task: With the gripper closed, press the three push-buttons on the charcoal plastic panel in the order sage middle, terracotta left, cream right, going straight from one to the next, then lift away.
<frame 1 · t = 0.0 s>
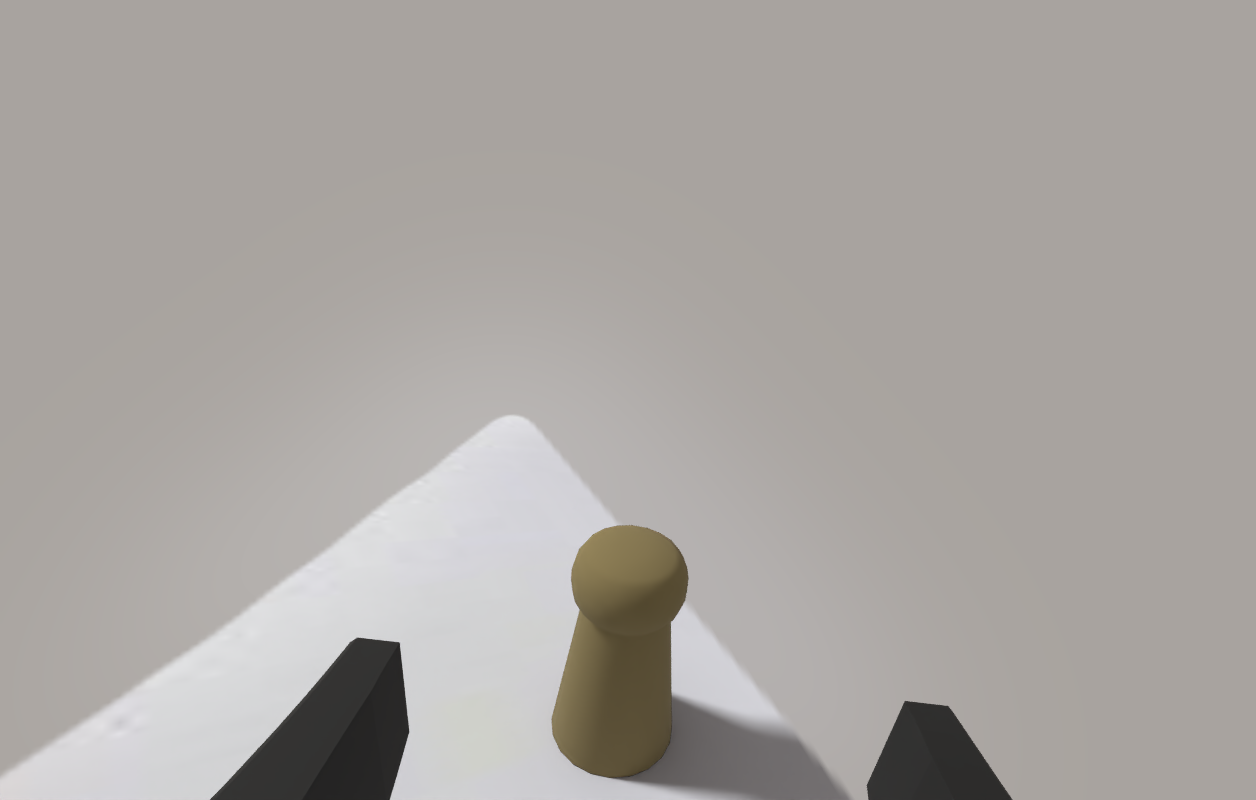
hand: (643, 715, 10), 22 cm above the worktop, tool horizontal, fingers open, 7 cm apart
olive pawn: (611, 725, 36), on the worktop
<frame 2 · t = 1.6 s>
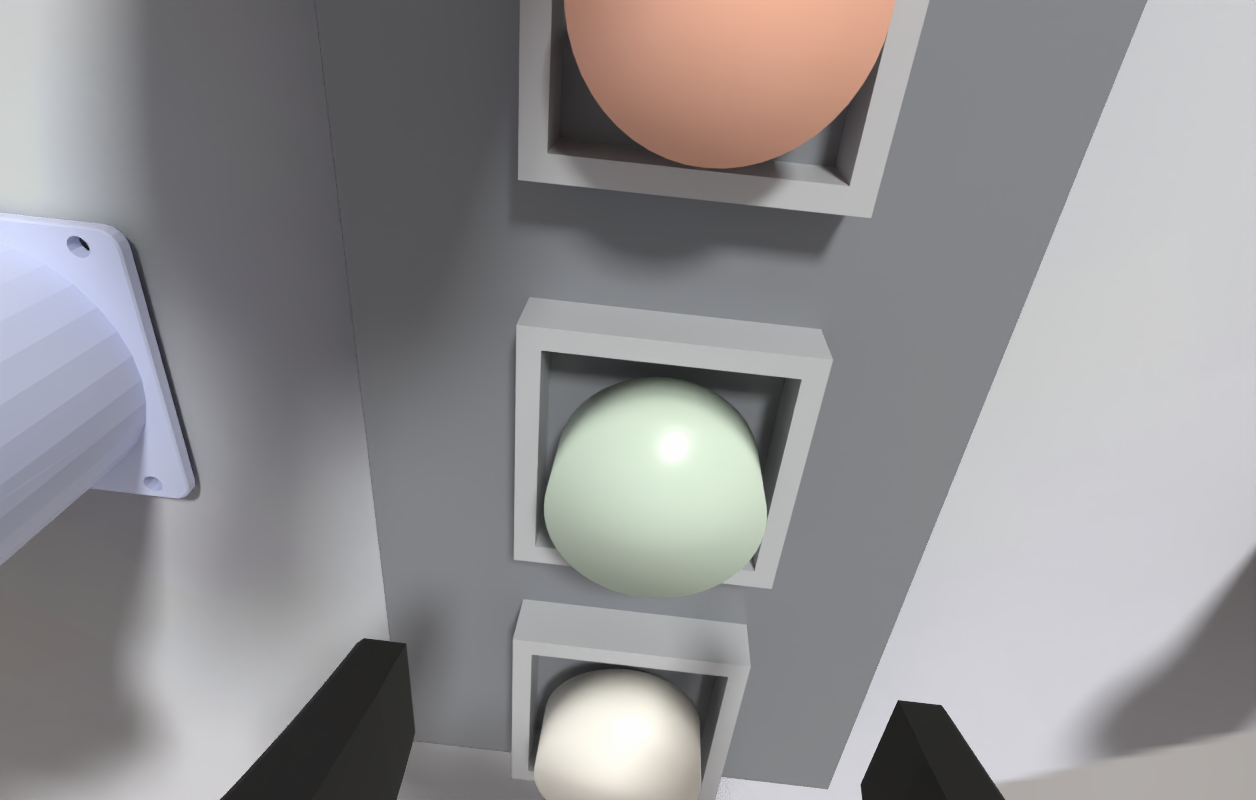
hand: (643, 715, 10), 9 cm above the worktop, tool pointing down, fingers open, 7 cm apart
button panel: (660, 391, 19), on the worktop
cream button: (619, 750, 20), point 4 cm above the worktop, slide at 0.0 cm
sage button: (655, 490, 15), point 4 cm above the worktop, slide at 0.0 cm
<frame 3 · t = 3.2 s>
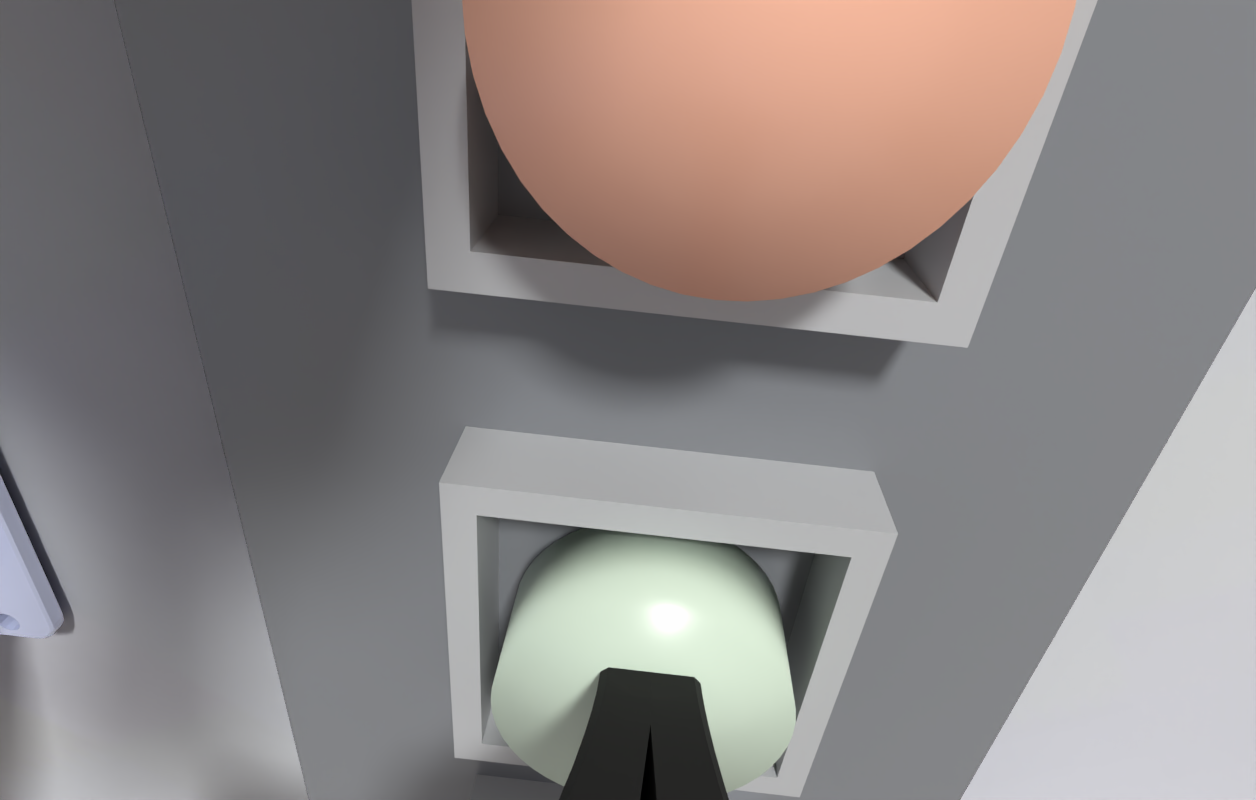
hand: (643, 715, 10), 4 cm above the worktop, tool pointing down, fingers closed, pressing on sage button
button panel: (652, 519, 14), on the worktop
terracotta button: (750, 15, 6), point 4 cm above the worktop, slide at 0.0 cm
sage button: (644, 666, 11), point 3 cm above the worktop, slide at 0.6 cm, touching gripper
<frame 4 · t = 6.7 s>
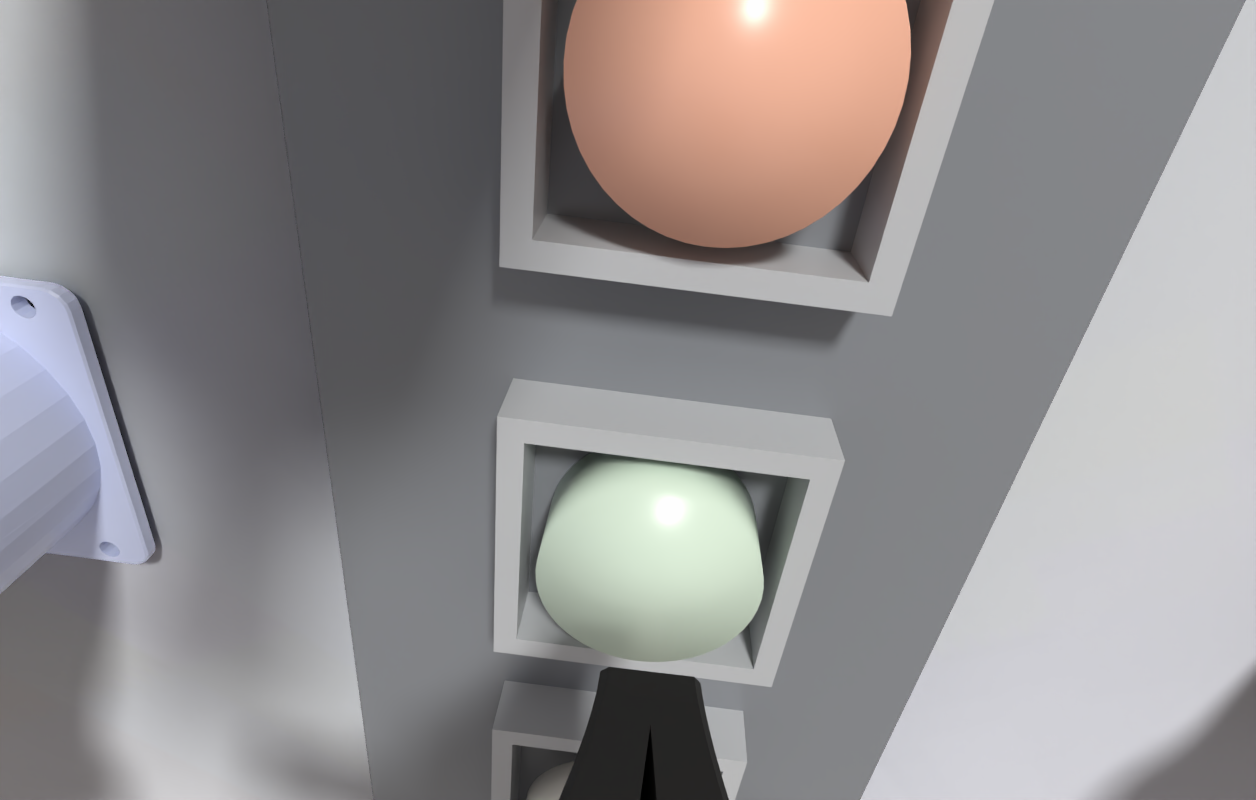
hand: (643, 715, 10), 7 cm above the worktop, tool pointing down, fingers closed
button panel: (655, 466, 17), on the worktop
terracotta button: (729, 74, 10), point 3 cm above the worktop, slide at 1.1 cm
sage button: (650, 552, 15), point 3 cm above the worktop, slide at 1.1 cm
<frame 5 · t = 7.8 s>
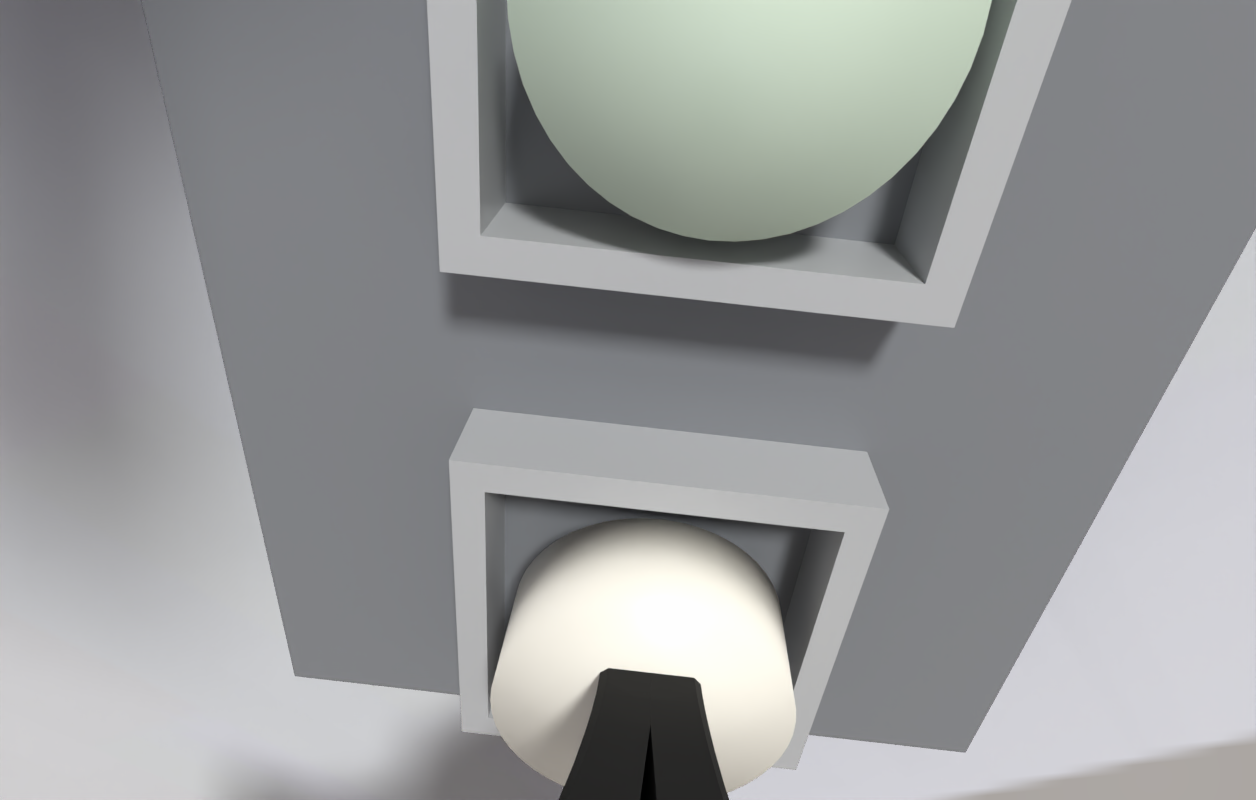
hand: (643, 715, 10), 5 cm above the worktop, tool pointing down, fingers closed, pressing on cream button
cream button: (644, 665, 11), point 4 cm above the worktop, slide at 0.1 cm, touching gripper
sage button: (737, 4, 7), point 3 cm above the worktop, slide at 1.1 cm
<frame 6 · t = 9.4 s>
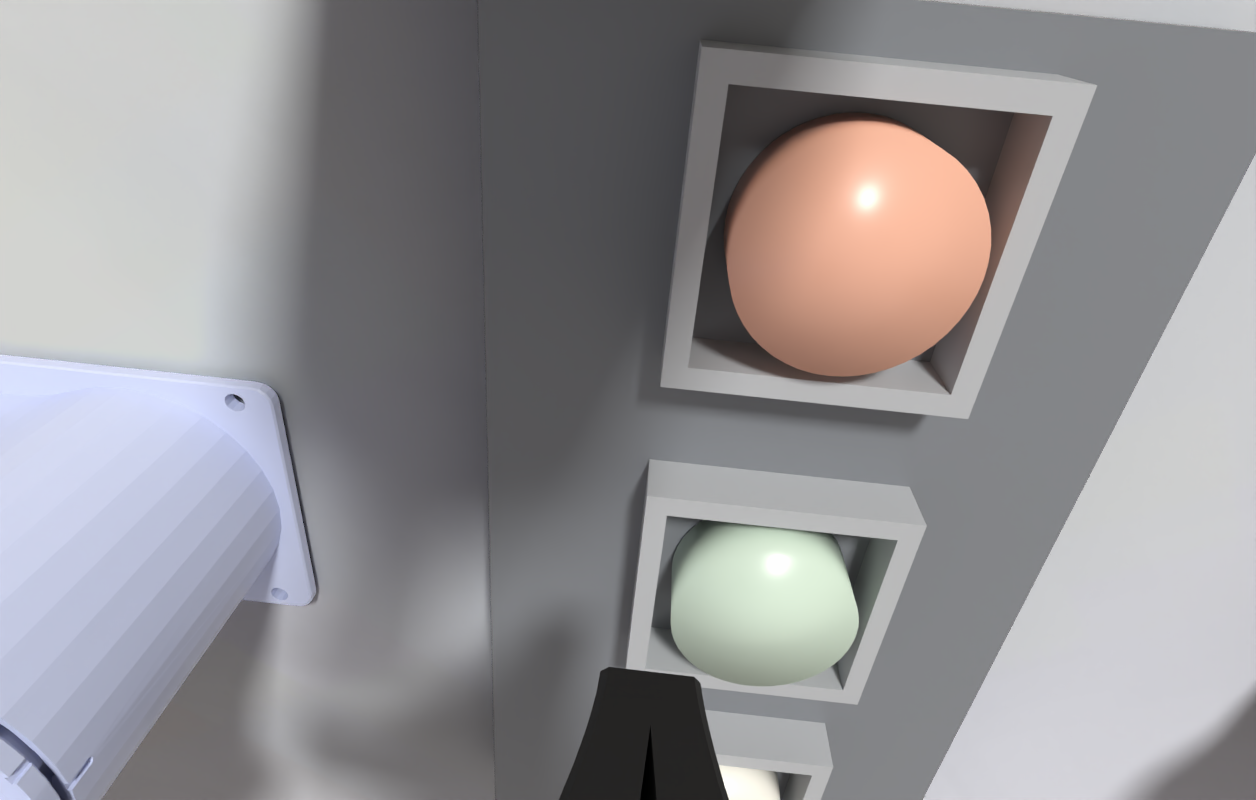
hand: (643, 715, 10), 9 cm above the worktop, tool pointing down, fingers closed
button panel: (750, 518, 20), on the worktop
terracotta button: (846, 247, 13), point 3 cm above the worktop, slide at 1.1 cm
sage button: (760, 597, 18), point 3 cm above the worktop, slide at 1.1 cm
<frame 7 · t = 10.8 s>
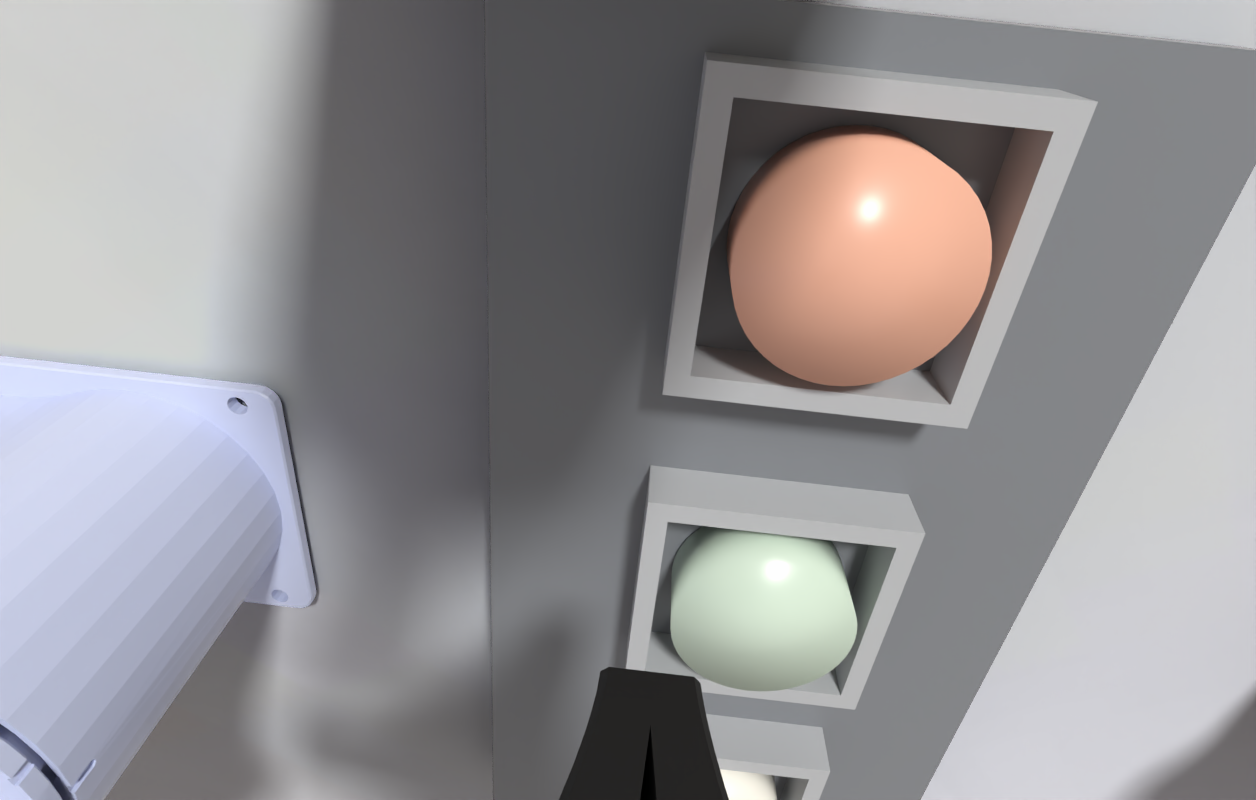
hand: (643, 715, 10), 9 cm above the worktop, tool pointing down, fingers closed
button panel: (749, 523, 21), on the worktop
terracotta button: (848, 259, 13), point 3 cm above the worktop, slide at 1.1 cm
sage button: (759, 602, 18), point 3 cm above the worktop, slide at 1.1 cm
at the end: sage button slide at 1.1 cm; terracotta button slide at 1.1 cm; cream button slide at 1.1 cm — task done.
